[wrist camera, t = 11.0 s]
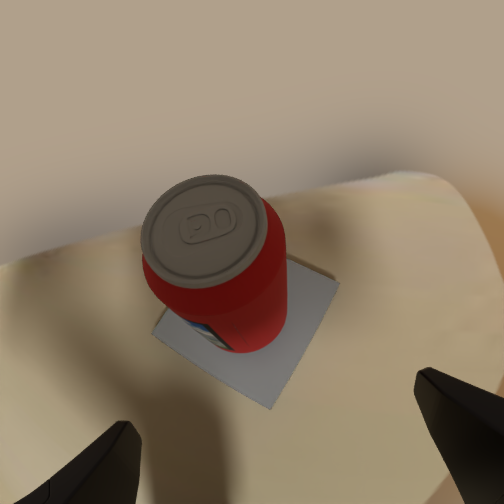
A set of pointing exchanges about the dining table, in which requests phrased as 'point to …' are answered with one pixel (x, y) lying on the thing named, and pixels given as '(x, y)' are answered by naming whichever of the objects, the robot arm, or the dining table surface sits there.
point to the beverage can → (218, 261)
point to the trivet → (269, 357)
